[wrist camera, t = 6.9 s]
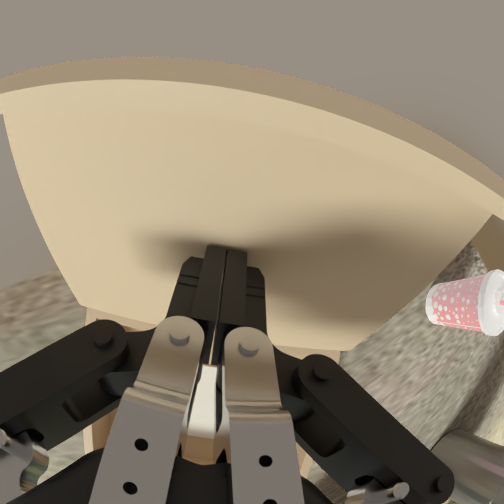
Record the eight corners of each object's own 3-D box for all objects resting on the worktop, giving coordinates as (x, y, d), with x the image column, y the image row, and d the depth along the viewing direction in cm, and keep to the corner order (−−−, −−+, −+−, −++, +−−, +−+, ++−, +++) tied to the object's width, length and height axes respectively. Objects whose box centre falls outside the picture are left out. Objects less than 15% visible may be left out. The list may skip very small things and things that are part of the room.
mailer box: (316, 337, 23) (341, 347, 18) (286, 466, 21) (300, 494, 16) (112, 302, 21) (87, 303, 16) (104, 438, 19) (86, 462, 14)
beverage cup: (459, 299, 26) (551, 294, 12) (437, 341, 25) (536, 352, 11) (437, 266, 26) (537, 246, 12) (412, 308, 25) (523, 308, 11)
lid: (350, 375, 16) (347, 342, 18) (534, 222, 5) (502, 177, 7) (71, 328, 14) (83, 296, 16) (-39, 105, 3) (10, 73, 5)
